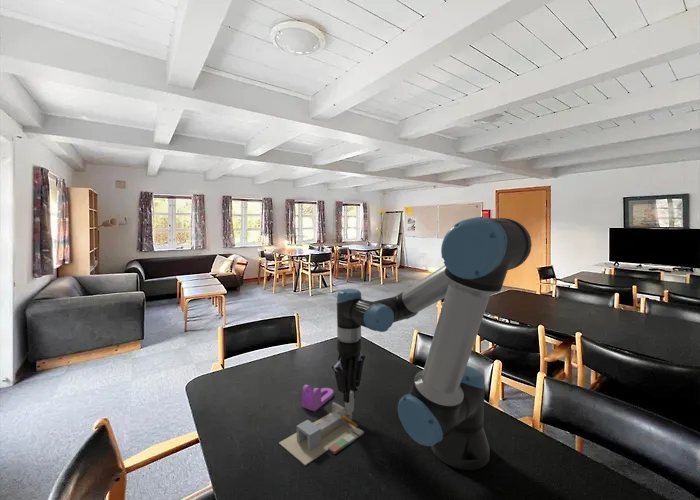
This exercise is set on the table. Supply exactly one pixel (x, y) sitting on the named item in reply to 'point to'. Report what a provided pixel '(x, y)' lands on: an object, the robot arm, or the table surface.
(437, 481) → the table surface
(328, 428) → the grey sliding clamp
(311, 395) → the bracket
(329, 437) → the beige mechanism board
